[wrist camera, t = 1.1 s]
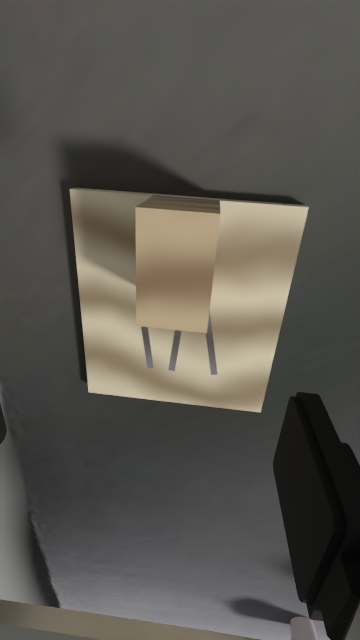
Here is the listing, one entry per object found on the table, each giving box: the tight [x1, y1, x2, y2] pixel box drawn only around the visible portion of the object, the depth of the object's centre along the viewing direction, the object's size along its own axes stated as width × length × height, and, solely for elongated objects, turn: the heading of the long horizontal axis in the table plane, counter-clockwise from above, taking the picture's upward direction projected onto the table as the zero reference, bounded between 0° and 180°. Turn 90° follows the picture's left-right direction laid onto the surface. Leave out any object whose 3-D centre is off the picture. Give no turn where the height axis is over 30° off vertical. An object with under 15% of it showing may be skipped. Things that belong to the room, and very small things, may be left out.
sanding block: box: [135, 195, 220, 333], centre depth 23 cm, size 8×5×6 cm, turn 177°
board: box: [70, 188, 309, 412], centre depth 29 cm, size 20×18×1 cm
